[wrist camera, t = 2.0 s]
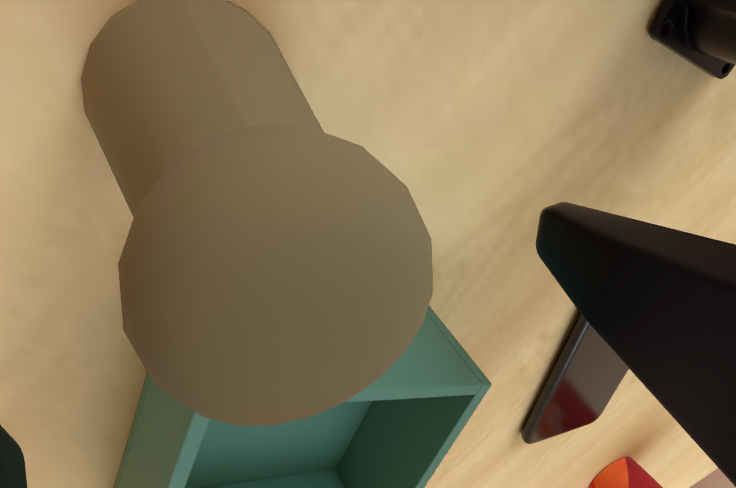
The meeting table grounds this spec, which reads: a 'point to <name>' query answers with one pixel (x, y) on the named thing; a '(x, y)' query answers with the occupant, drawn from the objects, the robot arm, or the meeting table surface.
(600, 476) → the paper cup
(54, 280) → the meeting table surface
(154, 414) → the tote
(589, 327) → the smartphone
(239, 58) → the brown pawn
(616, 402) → the meeting table surface
